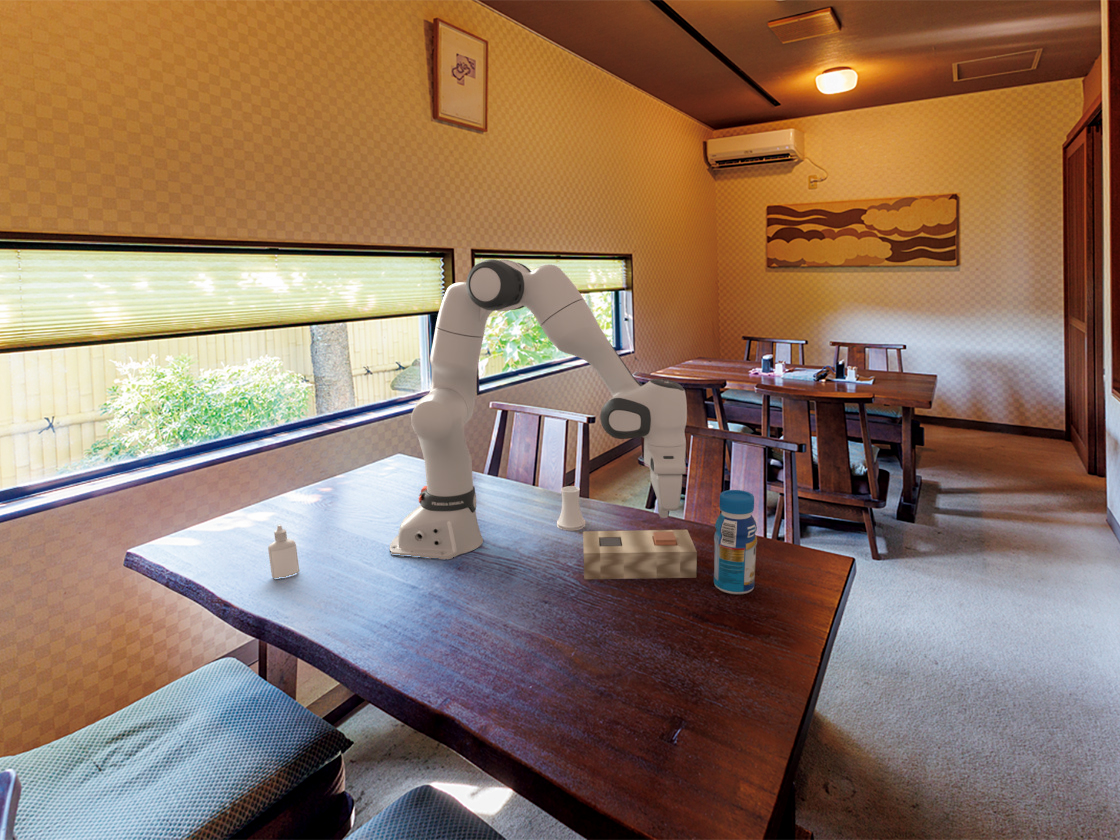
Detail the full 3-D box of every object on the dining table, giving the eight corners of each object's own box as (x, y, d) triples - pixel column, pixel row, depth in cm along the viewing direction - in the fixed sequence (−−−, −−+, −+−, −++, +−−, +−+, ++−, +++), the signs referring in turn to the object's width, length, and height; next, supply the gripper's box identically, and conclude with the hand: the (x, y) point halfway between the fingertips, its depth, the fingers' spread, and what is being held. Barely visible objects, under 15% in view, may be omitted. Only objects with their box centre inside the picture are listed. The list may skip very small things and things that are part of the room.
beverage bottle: (705, 579, 134) (708, 490, 130) (742, 574, 136) (745, 486, 132) (724, 598, 126) (727, 503, 122) (763, 592, 128) (767, 499, 124)
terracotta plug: (655, 563, 139) (655, 539, 138) (653, 554, 143) (653, 532, 142) (675, 562, 139) (676, 539, 138) (672, 554, 143) (673, 531, 142)
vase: (558, 519, 170) (557, 484, 168) (586, 520, 169) (586, 484, 167) (555, 530, 163) (553, 493, 161) (584, 531, 162) (583, 494, 160)
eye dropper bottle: (295, 579, 140) (289, 528, 138) (269, 580, 140) (262, 530, 137) (301, 570, 144) (295, 521, 142) (276, 572, 144) (269, 522, 141)
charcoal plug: (601, 569, 140) (600, 545, 138) (600, 560, 144) (600, 537, 143) (621, 568, 139) (621, 545, 138) (619, 560, 144) (619, 537, 142)
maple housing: (584, 579, 136) (583, 553, 135) (583, 555, 148) (583, 531, 146) (696, 577, 135) (696, 551, 134) (686, 553, 147) (687, 529, 146)
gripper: (644, 442, 146) (643, 499, 149) (655, 468, 126) (653, 533, 129) (672, 442, 146) (670, 499, 149) (687, 468, 126) (684, 533, 129)
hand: (662, 515), depth 139 cm, fingers closed
